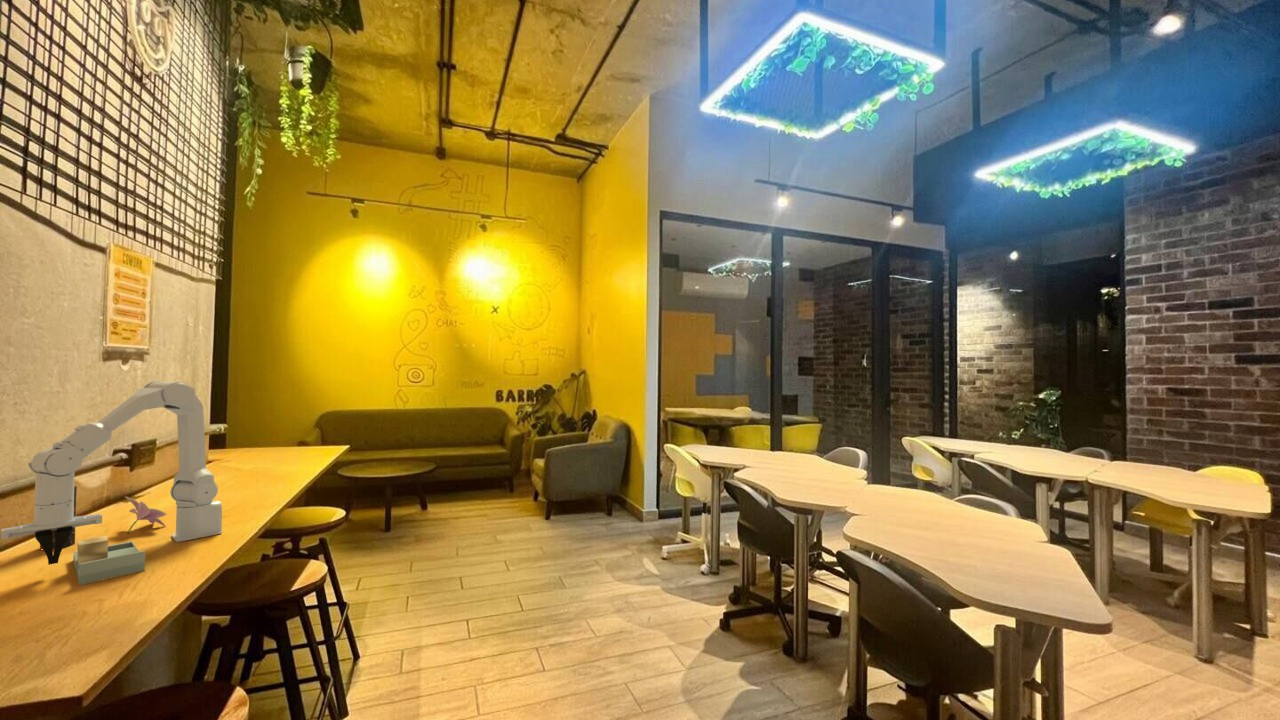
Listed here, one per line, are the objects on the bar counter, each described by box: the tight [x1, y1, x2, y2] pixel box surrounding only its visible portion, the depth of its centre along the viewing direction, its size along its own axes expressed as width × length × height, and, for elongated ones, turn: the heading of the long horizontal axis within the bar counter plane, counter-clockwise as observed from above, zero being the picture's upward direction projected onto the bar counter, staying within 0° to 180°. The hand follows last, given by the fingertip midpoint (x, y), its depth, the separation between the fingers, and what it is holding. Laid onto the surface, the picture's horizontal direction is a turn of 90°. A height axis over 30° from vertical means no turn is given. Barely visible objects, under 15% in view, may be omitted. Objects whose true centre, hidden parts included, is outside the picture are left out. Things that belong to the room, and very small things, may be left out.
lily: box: [125, 496, 167, 535], centre depth 141 cm, size 12×12×10 cm
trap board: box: [73, 540, 146, 586], centre depth 116 cm, size 10×21×4 cm, turn 51°
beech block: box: [76, 535, 109, 565], centre depth 115 cm, size 4×4×4 cm
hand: (53, 562), depth 111 cm, fingers closed
